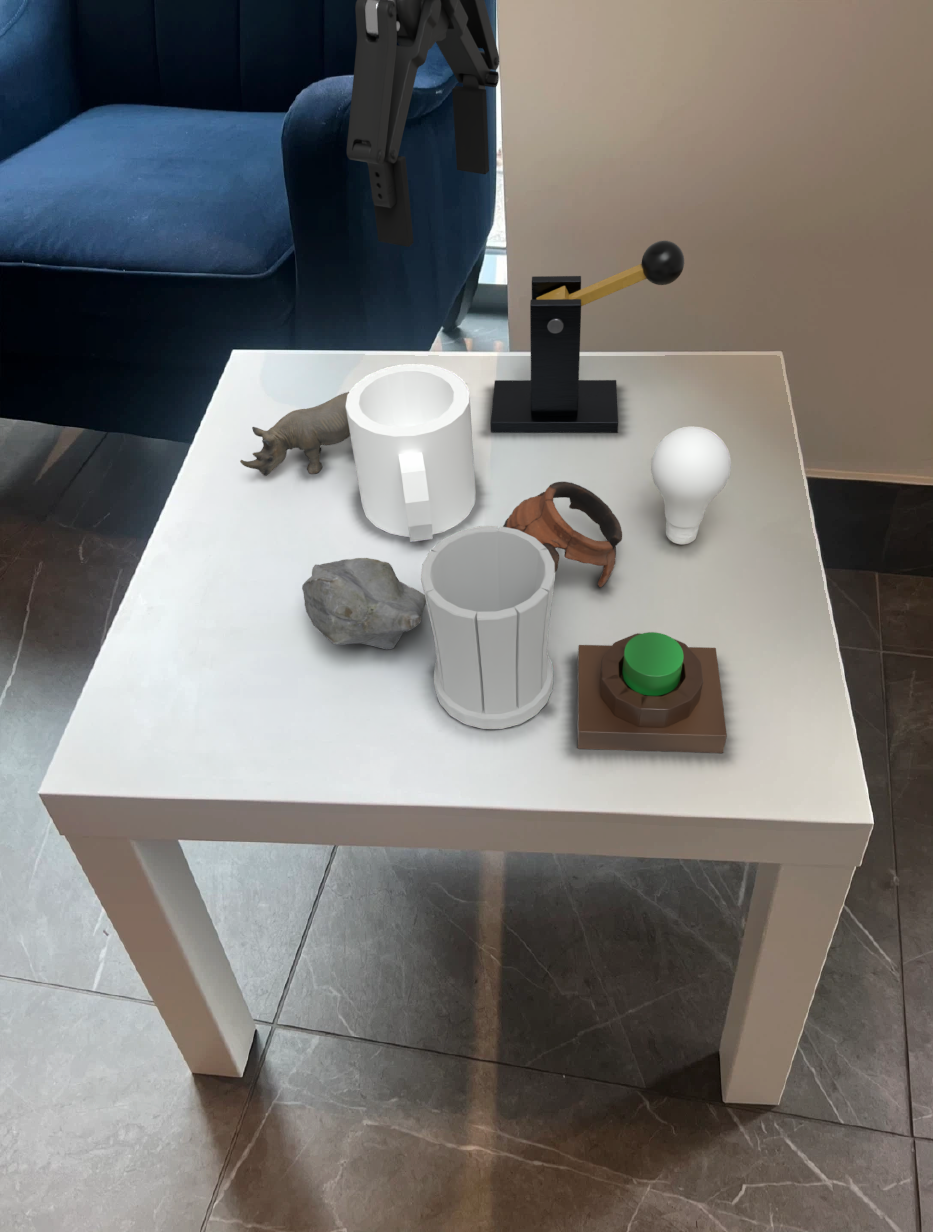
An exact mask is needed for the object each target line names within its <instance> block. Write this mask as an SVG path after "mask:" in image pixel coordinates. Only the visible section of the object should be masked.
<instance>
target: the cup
mask: <svg viewBox="0 0 933 1232" xmlns="http://www.w3.org/2000/svg"><path fill="white" fill-rule="evenodd" d="M555 580H556V572H555V564H554V561H553V559H552V557H551V555H550V553H549V551H548V550H547V548H546V547H545V546H544V545H543V544H541V543H540V542H539V541H538V540H537V539H536V538H534V537H532V536H530V535H528V534H526V533H524V532H522V531H520V530H517V529H512V528H507V527H503V526H502V525H500V526H498V525H478V526H475V527H470V528H466V529H462V530H458V531H456V532H454V533H452V534H450V535H448V536H446V537H443V539H441V540H440V541H439V542H438V543H437V544H436V545H434V546H433V547H432V548H431V549H430V551H428V553H427V554H426V557H425V559H424V560H423V562H422V564H421V572H420V581H421V586H422V591H423V594H424V595H425V599H426V607H427V611H428V616H429V620H430V626H431V630H432V635H433V641H434V647H435V654H436V661H435V664H434V672H433V685H434V691H435V694H436V696H437V701H438V702H439V705H440V706H442V708H443V709H444V710H445V711H446V712H447V714H448V715H449V716H451V717H452V718H454V719H455V720H457V721H459V722H461V723H462V724H464V725H466V726H470V727H474V728H478V729H481V730H504V729H507V728H510V727H514V726H518V725H522V724H523V723H525V722H527V721H528V720H530V719H532V718H533V717H535V716H537V715H538V714H539V712H540V711H541V710H542V709H543V708H544V707H545V706H546V704H548V701H549V699H550V697H551V694H552V691H553V689H554V673H553V663H552V660H551V658H550V656H549V654H548V649H549V632H550V621H551V612H552V603H553V602H552V601H553V596H554V589H555Z"/></svg>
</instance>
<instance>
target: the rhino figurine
mask: <svg viewBox="0 0 933 1232" xmlns="http://www.w3.org/2000/svg"><path fill="white" fill-rule="evenodd" d="M349 392H350V391H347V392H343V393H341V394H339V395H337V396H335V397H333V398H331V399H329V400H327V401H325V402H323V403H321V404H318V405H316V406H313V407H308V408H299V409H295V410H292V411H290V412H288V413H287V414H285V415H284V416H282V417H281V418H280V419H279V420H278V421H276V423H275V424H274V425H272V426H271V427H270V428H269V429H268V430H264V429H262V428H259V427H256V426H252V427H251V429H252V432H253V434H254V435H255V436H257V437H259V438H262V440H261V443H262V444H263V445H262V448H261V450H260V451H256V452H252V455H253V457H255V459H252V460H249V461H247V460H243V459H240V460H239V462H240V464H241V465H242V466H244V467H245V468H249V469H253V470H258V471H259V473H260V474H261V475H262V476H269V474H270V473H272V472H273V471H274V470H276V469H277V468H278V467H279V466H280V465H281V464H282V463H283V462H284V461H285V459H286V458H287V453H288V450H293V449H299V450H300V451H303V453H304V455H305V456H306V457H307V458H308V461H309V462H308V463H307V466H306V469H307V472H308V474H310V475H314V474H318V473H319V472H320V471H321V470H322V469H323V464H322V462H321V461H320V458H321V453H322V447H321V446H325V447H326V446H333V445H338V444H341V443H342V442H344V441H346V440H347V439H348V438H349V437H351V436H350V430H349V424H348V418H347V412H346V400H347V395H348V393H349Z"/></svg>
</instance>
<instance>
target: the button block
mask: <svg viewBox="0 0 933 1232" xmlns="http://www.w3.org/2000/svg"><path fill="white" fill-rule="evenodd" d="M639 634H641V633H640V632H639V633H634V634H631V635H630V636H627V637H624V638H622V639H620V640H617V641H615V642H614V643H612V645H609V644H608V645H605V644H604V645H601V644H578V648H577V649H578V650H577V749H579V750H609V751H614V750H615V751H641V752H642V751H643V752H645V751H646V752H672V753H673V752H677V753H709V754H714V753H715V754H723V753H724V750H725V746H726V742H727V737H728V734H727V727H726V718H725V717H726V716H725V710H724V703H723V693H722V687H721V678H720V670H719V663H718V655H717V648H716V647H700V646H699V647H697V646H688V645H687V644H686V643H684V642H682V641H680V640H678V639H675V638H673V639H674V640H675V641H676V642H677V643H678V644H679V645H680V646H681V648H682V650H683V655H684V658H683V664H682V671H681V677H680V681H679V683H678V685H677V686H676V688H675V689H674V690H672V691H671V692H669V693H667V694H664V695H660V696H647V695H643V694H640V693H638V692H636V691H634V690H633V689H631V688H630V687H629V686H628V685H627V684H626V682H625V680H624V678H623V673H622V671H623V660H624V650H625V647H626V645H627V643H628V642H629V641H630V640H631V639H632V638H633V637H635V636H637V635H639Z"/></svg>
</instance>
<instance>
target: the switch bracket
mask: <svg viewBox="0 0 933 1232" xmlns="http://www.w3.org/2000/svg"><path fill="white" fill-rule="evenodd" d="M562 286H565V287H566V289H567V291H568V293H569V294H572V293H574V292H576V291H579V290H581V289H582V276H581V275H548V276H547V275H542V276H533V275H532V276H531V299H530V304H529V310H530V311H529V315H530V316H529V319H530V321H529V322H530V323H529V324H530V325H529V326H530V327H529V329H530V330H529V331H530V332H529V333H530V336H529V337H530V339H529V340H530V380H529V379H523V380H522V379H511V380H509V379H501V380H500V379H498V380H497V379H495V380H494V384H493V392H492V402H491V403H492V404H491V413H490V433H531V434H532V433H534V434H535V433H537V434H539V433H543V434H545V433H549V434H550V433H552V434H553V433H555V434H556V433H557V434H558V433H566V434H568V433H570V434H571V433H573V434H575V433H576V434H577V433H578V434H580V433H583V434H585V433H586V434H587V433H589V434H590V433H591V434H592V433H593V434H597V433H599V434H604V433H605V434H611V433H613V434H615V433H616V434H617V433H619V408H618V407H619V406H618V405H619V404H618V385H617V383H618V382H617V380H616V379H580V354H581V327H582V326H581V325H582V306H581V299H542V300H537V297H539V296H542V295H544V294H546V293H549V292H551V291H553V290H555V289H558V288H560V287H562Z"/></svg>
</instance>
